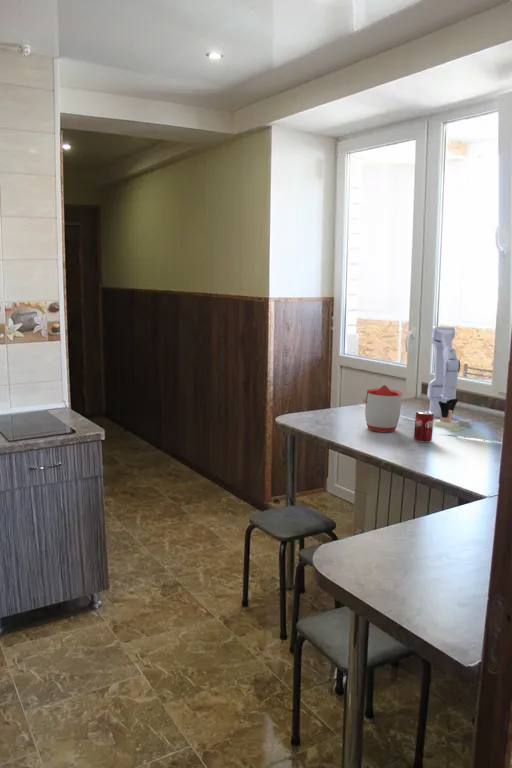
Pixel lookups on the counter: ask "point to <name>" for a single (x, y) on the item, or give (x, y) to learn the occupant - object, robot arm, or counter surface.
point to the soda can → (423, 426)
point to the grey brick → (464, 423)
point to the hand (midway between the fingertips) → (447, 416)
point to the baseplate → (450, 428)
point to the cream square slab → (446, 423)
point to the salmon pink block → (447, 417)
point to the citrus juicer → (382, 409)
